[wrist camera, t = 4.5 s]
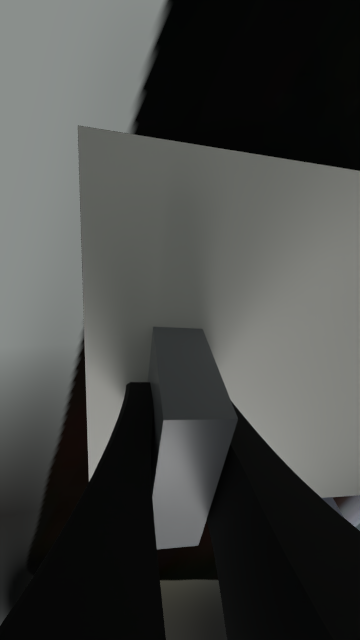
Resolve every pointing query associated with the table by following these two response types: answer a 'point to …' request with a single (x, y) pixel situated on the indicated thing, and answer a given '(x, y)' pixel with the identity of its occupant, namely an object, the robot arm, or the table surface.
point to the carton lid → (220, 312)
